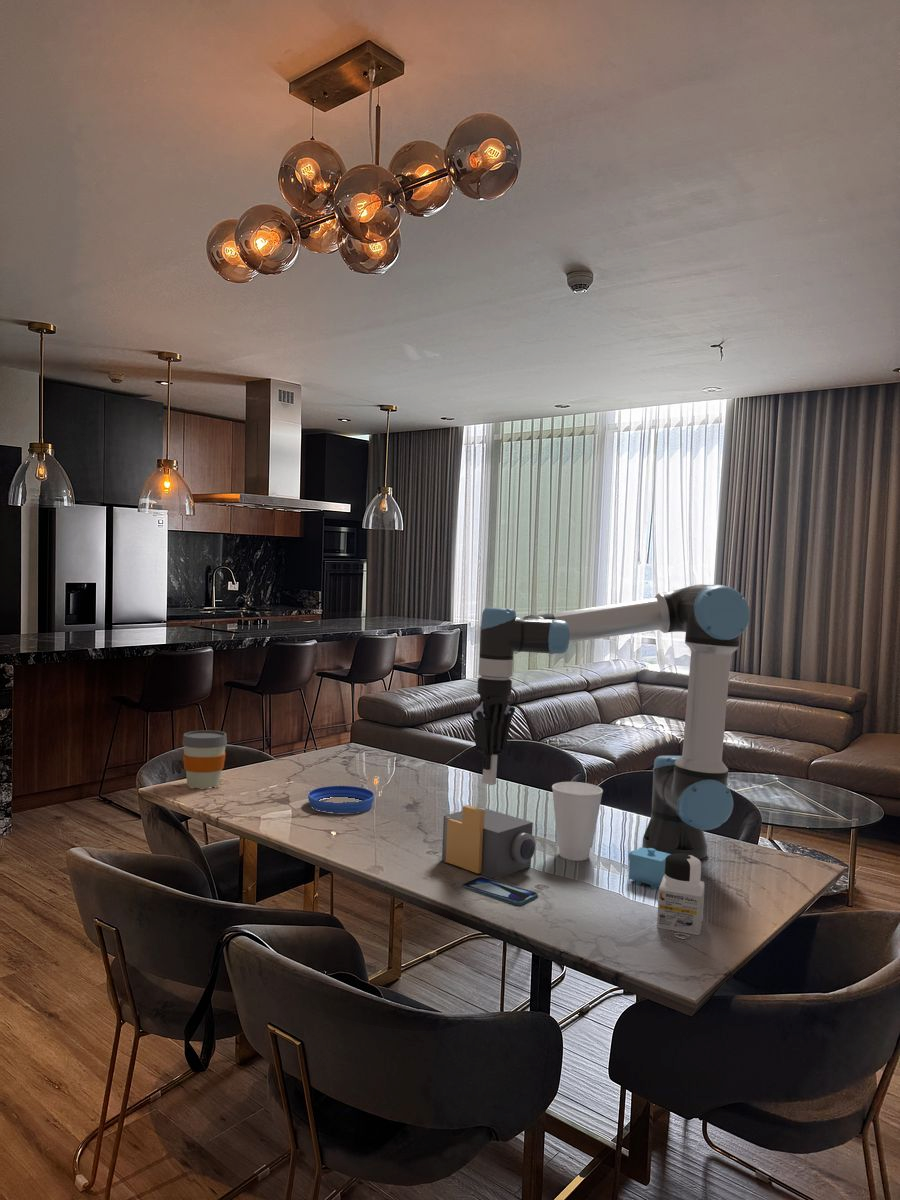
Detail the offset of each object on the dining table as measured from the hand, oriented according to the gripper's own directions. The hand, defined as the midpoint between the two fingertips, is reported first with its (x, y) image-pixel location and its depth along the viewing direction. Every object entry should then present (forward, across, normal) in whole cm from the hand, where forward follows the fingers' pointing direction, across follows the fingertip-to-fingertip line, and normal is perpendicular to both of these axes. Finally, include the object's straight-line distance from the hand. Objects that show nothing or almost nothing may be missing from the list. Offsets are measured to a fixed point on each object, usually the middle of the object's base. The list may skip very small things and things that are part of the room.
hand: (489, 783), depth 185 cm
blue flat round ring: (+20, -6, -57) cm, 61 cm away
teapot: (+19, -20, +31) cm, 41 cm away
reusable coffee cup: (+20, +12, -98) cm, 101 cm away
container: (+19, -5, +45) cm, 49 cm away
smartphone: (+19, +9, +12) cm, 24 cm away
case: (+19, -2, 0) cm, 19 cm away
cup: (+19, -22, +9) cm, 30 cm away
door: (+18, +5, -2) cm, 19 cm away
